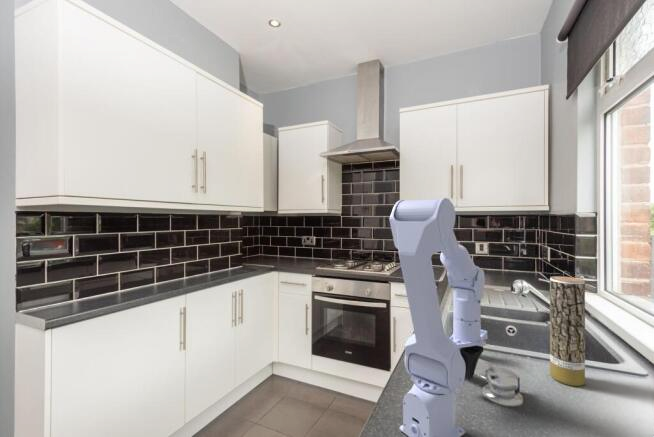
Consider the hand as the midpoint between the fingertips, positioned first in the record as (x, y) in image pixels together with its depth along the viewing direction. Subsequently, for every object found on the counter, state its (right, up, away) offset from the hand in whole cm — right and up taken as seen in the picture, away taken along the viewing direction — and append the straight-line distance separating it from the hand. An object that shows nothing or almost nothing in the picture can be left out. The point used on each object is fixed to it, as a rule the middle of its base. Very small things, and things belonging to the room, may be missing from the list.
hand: (466, 377), depth 70 cm
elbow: (+5, -1, +3) cm, 6 cm away
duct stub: (+8, -4, -1) cm, 9 cm away
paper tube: (+27, -4, +6) cm, 28 cm away
